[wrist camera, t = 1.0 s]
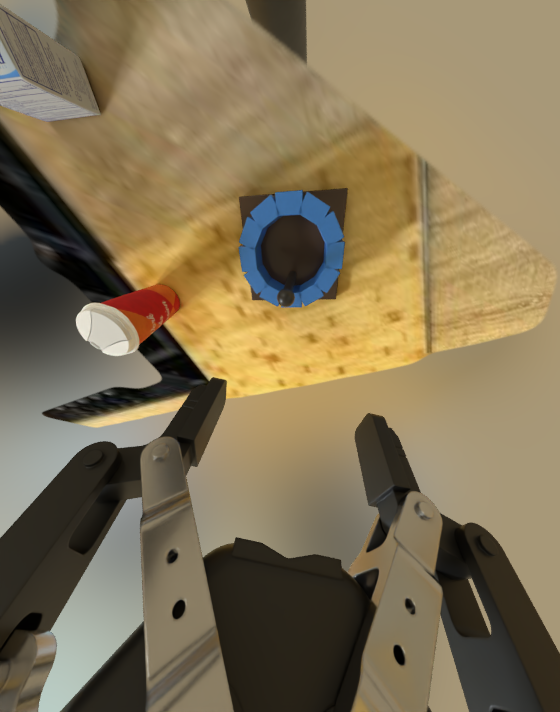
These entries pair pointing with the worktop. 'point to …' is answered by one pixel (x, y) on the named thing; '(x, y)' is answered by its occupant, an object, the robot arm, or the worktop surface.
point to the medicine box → (41, 74)
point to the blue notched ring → (256, 231)
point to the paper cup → (127, 319)
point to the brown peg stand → (295, 244)
